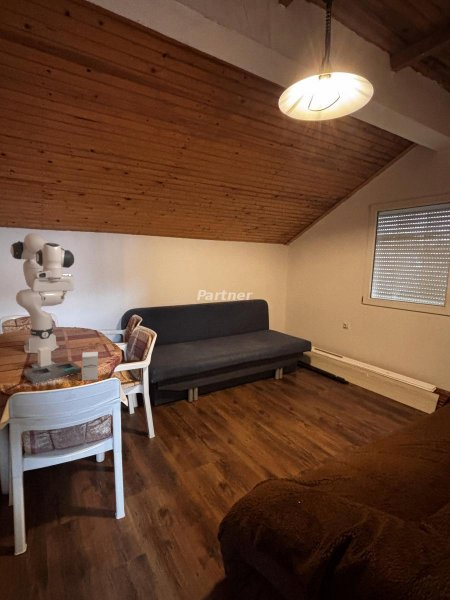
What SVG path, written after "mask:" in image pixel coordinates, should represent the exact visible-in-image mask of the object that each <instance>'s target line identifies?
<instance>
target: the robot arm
mask: <svg viewBox="0 0 450 600" xmlns="http://www.w3.org/2000/svg"><path fill="white" fill-rule="evenodd" d="M9 250H10V254H11V256H12V257H13V259H16V260H24V262H23V264H22V270H23V275H24V279H25V283H26V286H28V287H29V288H27V289H21V290H19V291H18V292H17V293H16V295H15V301H16V303H17V305H18V306H20V307H21V308H23V309H25V310H26V312H27V313H28V314H29V317H30V323H31V324H30V325H31V327H30V335H29V336H28V338H27V339H25V341H24V343H25V344H24V345H23V350H24V353H25V354H38V352H37V348H43V347H49V348H50V349H51V352H53V351H55V350H56V349H58V348H60V346H59V345H57V339H56V338H57V337H56V335H55V334H54V327H53V316H52V315H51V313H49V312H47V311H46V310H45V311H44V310H42V307H52V306H56V305H57V306H58V305H61V304H63V302H64V301H65V299H66V295H67V293H68V292H70V291H71V292H72V291H73V290H75V288H74V276H73V275H72V274H71V273H63V268H65V269H67V268H68V269H69V268H70V267H72V266H73V265H74V263H75V256H74V254H73V252H71V251H70V250H69V249H64V248H62V247H61V245H60V244H58V243H54V242H51V241H49V240H47V239H45V238H44V237H43V236H42V235H40V234H37V233H33V232H32V233H31V232H30V233H28V234H26V235H25V237H24V238H23V241H20V240H18V242H13V243H12V244H11V247H10V249H9Z"/></svg>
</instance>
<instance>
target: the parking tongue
mask: <svg viewBox="0 0 450 600" xmlns="http://www.w3.org/2000/svg"><path fill="white" fill-rule="evenodd" d="M52 364H57V363H56V362H54V360H51V365H52ZM30 366H32V367H31V368H37V367H40V366H39V365H38V362H37V363H33V364H31V365H30Z"/></svg>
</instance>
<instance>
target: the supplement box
mask: <svg viewBox="0 0 450 600" xmlns="http://www.w3.org/2000/svg"><path fill="white" fill-rule="evenodd" d="M98 365H99V351H88V352H87V351H84V352H82V353H81V382H84V381H96V380H98V378H99V377H98V376H99V374H98V373H99V370H98V369H99V366H98Z"/></svg>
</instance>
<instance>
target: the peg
mask: <svg viewBox="0 0 450 600" xmlns="http://www.w3.org/2000/svg"><path fill="white" fill-rule="evenodd" d="M37 352H38V353H37V363H38V365H39V366H40V367H42V366H47V365H51V361H52V351H51V349H50V348H49V347H43V348H37Z"/></svg>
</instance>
